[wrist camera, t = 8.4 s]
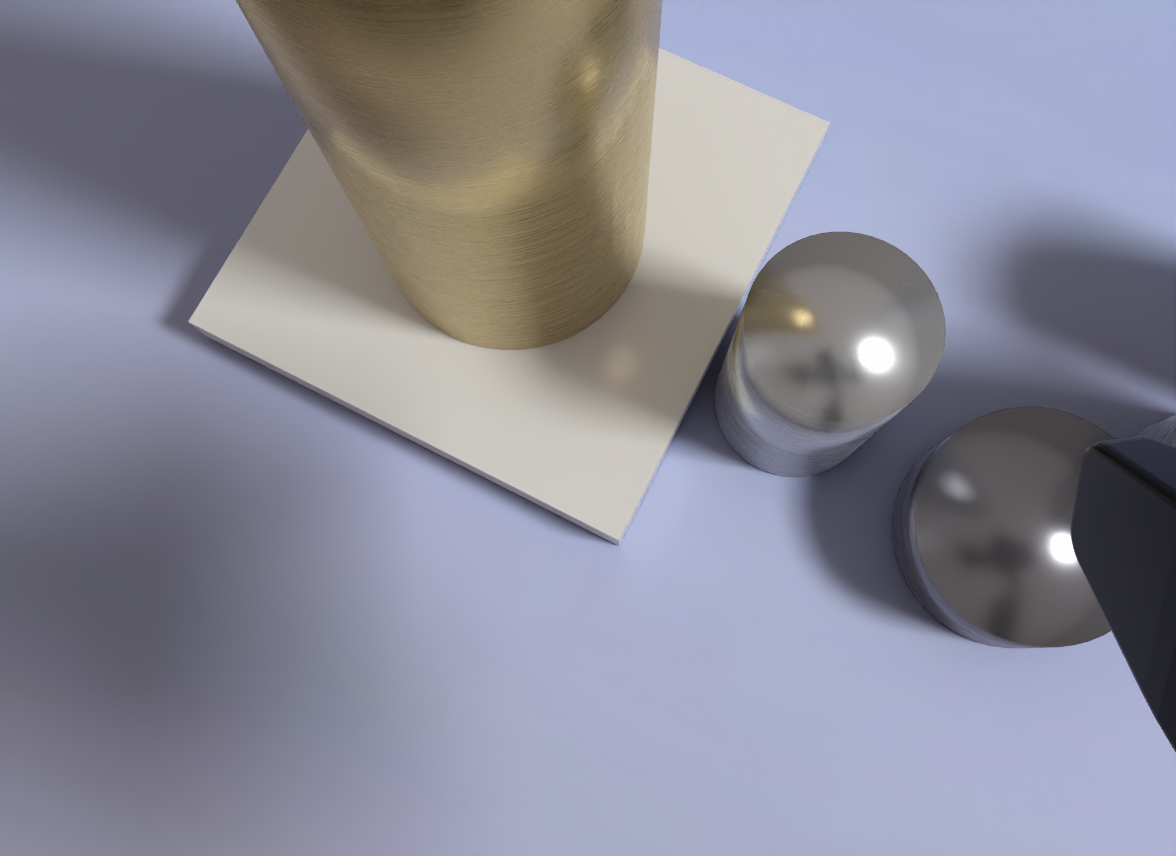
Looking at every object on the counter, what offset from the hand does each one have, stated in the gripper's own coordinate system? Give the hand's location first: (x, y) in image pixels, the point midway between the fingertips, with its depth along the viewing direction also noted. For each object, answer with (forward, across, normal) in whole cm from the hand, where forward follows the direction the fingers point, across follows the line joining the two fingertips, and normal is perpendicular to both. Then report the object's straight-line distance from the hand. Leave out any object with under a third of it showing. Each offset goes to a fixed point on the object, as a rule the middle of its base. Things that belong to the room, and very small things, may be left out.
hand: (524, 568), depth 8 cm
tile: (+11, 0, +1) cm, 11 cm away
